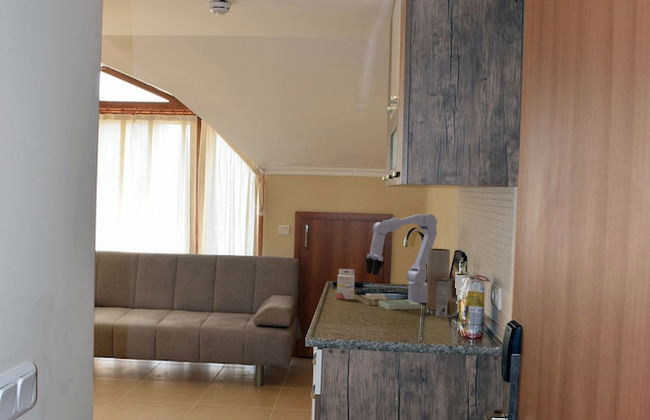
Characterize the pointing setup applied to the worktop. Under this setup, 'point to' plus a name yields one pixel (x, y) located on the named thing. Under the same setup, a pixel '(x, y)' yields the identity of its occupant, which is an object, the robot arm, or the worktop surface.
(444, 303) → the coffee box
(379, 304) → the tray
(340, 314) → the worktop surface
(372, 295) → the block
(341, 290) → the ink cartridge box
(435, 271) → the tall taupe carton
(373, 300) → the frame
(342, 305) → the worktop surface
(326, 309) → the worktop surface
